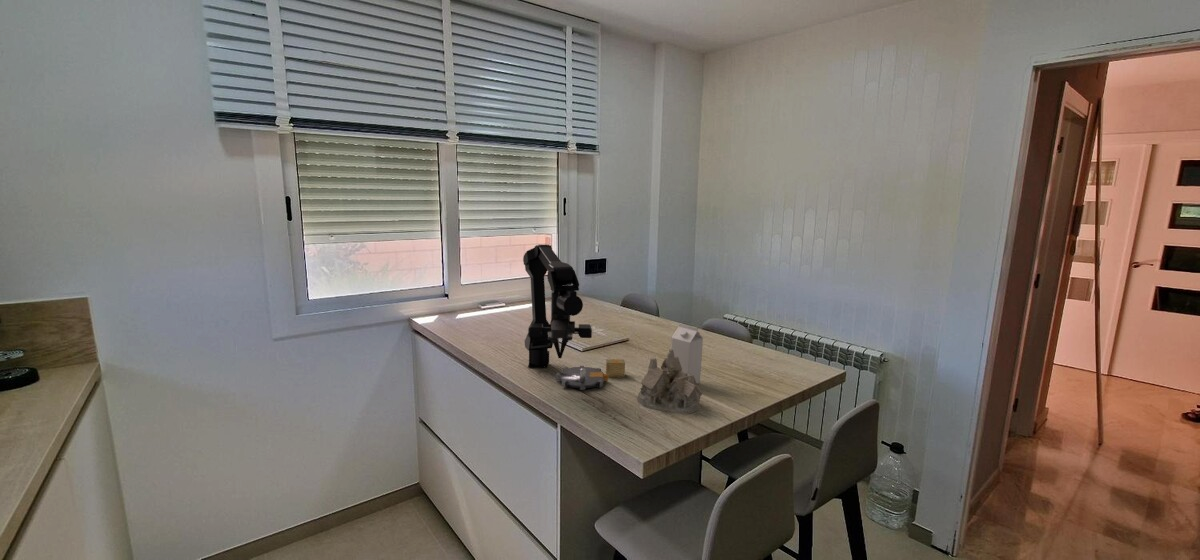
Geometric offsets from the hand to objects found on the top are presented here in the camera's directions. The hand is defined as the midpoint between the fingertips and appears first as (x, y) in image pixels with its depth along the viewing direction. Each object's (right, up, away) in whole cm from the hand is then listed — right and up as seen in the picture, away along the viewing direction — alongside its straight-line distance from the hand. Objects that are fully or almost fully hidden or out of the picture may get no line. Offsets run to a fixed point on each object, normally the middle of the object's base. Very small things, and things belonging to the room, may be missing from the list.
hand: (559, 358), depth 144 cm
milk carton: (+39, -10, +9) cm, 41 cm away
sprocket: (+6, -9, +7) cm, 13 cm away
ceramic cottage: (+32, -12, -7) cm, 35 cm away
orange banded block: (+17, -8, +14) cm, 23 cm away
